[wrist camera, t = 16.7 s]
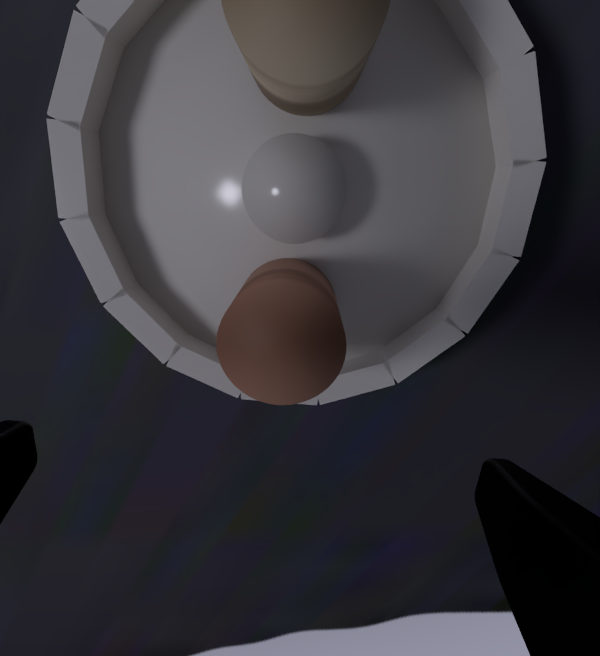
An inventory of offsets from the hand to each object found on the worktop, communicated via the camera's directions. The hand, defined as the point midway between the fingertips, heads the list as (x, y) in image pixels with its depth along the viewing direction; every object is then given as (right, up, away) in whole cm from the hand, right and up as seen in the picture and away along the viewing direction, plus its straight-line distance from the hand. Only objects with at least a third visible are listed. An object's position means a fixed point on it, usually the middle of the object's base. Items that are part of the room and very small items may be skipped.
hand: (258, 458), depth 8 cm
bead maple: (+1, +13, +7) cm, 15 cm away
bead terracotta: (0, +4, +10) cm, 11 cm away
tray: (+1, +9, +10) cm, 13 cm away
